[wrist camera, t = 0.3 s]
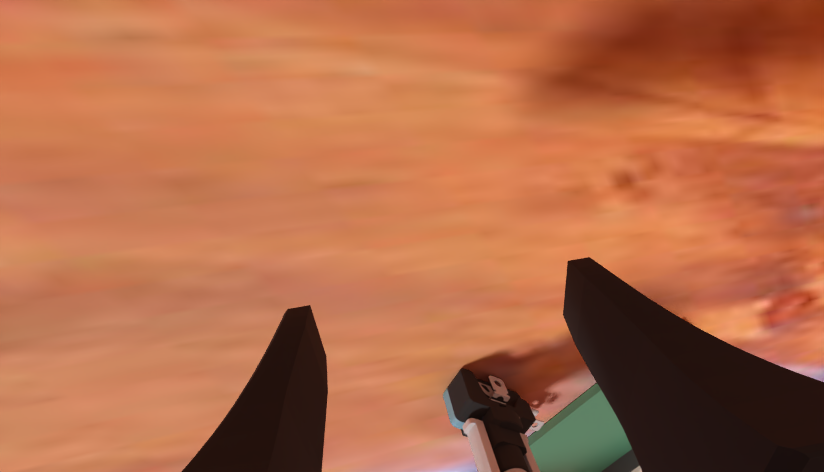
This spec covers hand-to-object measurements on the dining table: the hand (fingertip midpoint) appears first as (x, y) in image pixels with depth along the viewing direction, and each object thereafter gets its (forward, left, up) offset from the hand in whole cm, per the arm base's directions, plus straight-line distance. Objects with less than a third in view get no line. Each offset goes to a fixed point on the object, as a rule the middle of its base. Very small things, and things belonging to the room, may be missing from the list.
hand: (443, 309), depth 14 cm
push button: (-7, -14, -11) cm, 19 cm away
